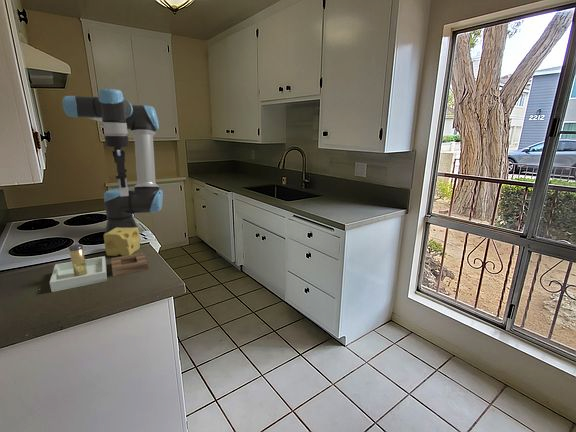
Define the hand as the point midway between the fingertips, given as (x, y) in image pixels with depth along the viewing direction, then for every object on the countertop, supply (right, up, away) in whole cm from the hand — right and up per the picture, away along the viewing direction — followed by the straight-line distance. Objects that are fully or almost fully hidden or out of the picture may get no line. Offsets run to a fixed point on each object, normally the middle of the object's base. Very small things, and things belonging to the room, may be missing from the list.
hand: (124, 192), depth 117 cm
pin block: (0, -29, +4) cm, 29 cm away
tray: (-13, -31, -5) cm, 34 cm away
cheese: (-10, -25, +18) cm, 33 cm away
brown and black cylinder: (-13, -30, -5) cm, 34 cm away
